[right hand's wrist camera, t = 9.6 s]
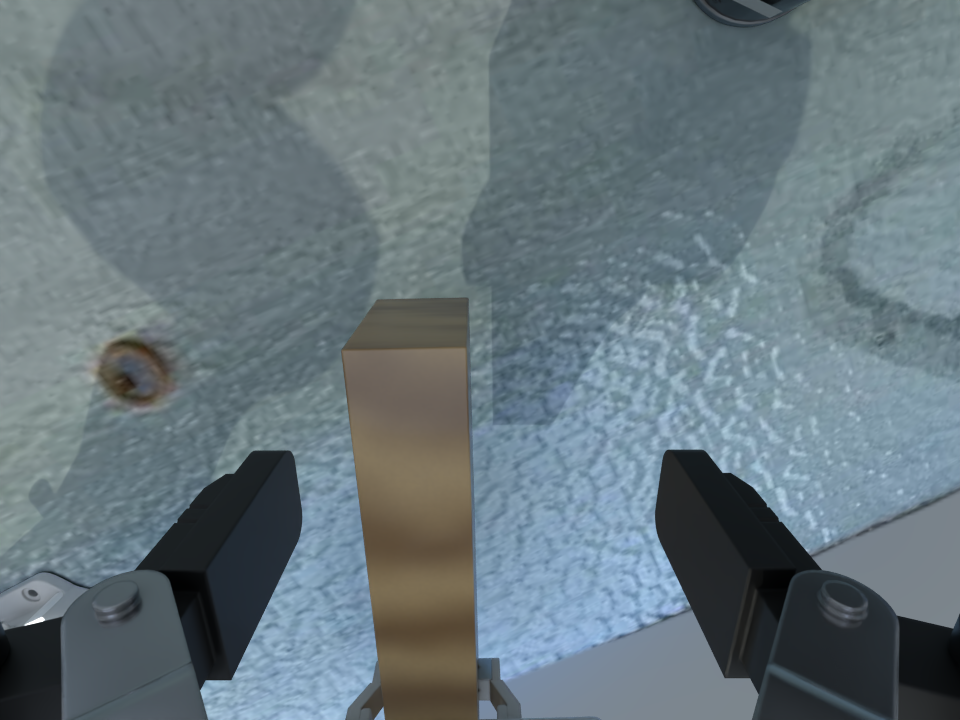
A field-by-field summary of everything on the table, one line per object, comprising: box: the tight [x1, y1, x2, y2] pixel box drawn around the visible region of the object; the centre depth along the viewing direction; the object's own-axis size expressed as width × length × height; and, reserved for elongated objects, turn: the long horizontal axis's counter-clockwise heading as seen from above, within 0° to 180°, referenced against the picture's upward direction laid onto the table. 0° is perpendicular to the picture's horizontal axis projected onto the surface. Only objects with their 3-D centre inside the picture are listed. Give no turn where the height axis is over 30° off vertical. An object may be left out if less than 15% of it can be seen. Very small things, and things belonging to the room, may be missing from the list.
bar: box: [341, 298, 479, 720], centre depth 30 cm, size 27×5×8 cm, turn 1°
